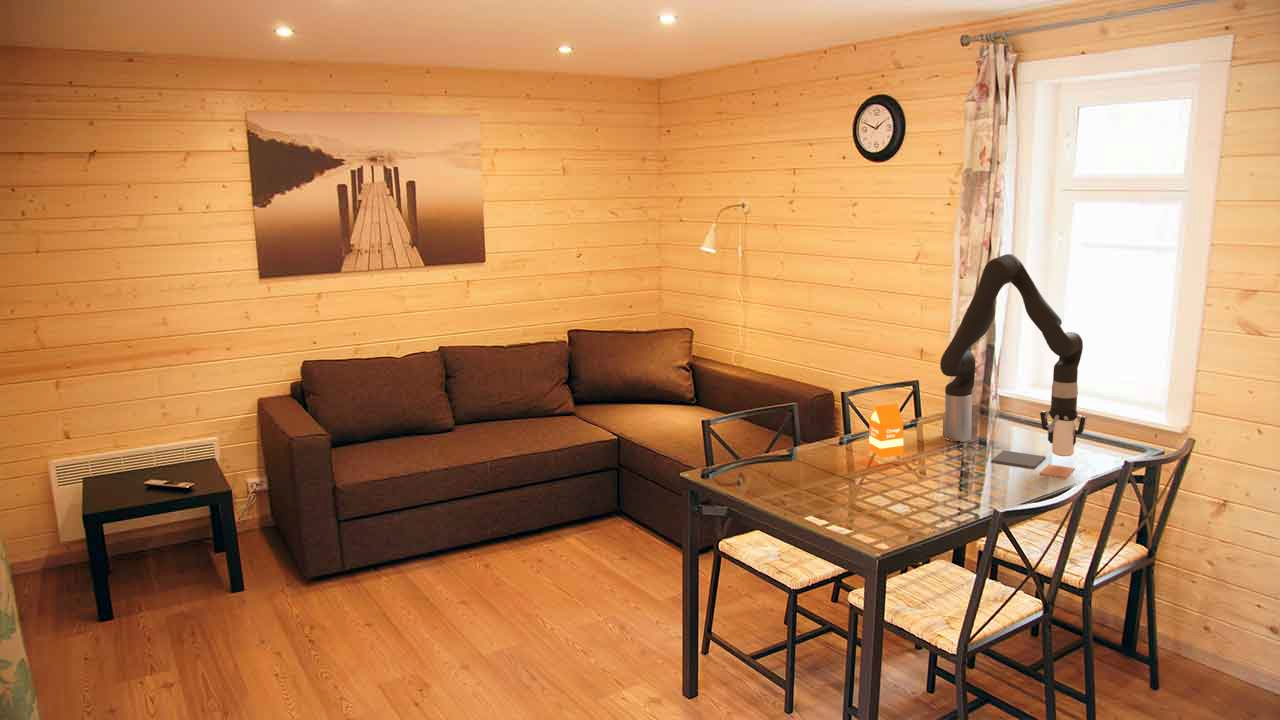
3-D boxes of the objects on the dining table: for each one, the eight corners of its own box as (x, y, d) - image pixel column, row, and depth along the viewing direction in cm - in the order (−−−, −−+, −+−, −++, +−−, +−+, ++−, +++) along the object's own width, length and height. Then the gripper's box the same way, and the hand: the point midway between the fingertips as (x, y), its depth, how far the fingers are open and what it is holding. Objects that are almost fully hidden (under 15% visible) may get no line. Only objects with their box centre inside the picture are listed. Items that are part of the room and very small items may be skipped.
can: (1068, 449, 298) (1071, 415, 295) (1077, 456, 292) (1079, 420, 289) (1048, 450, 298) (1051, 415, 296) (1056, 456, 292) (1059, 421, 289)
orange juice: (903, 462, 311) (903, 406, 307) (880, 465, 309) (880, 409, 305) (891, 455, 319) (891, 400, 314) (869, 458, 317) (868, 403, 312)
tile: (1048, 467, 299) (1039, 476, 291) (1048, 464, 298) (1039, 472, 291) (1074, 471, 294) (1066, 480, 286) (1074, 468, 293) (1066, 477, 286)
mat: (991, 462, 306) (991, 459, 306) (1003, 452, 315) (1003, 450, 314) (1034, 468, 297) (1034, 466, 297) (1045, 458, 306) (1045, 456, 306)
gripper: (1037, 394, 292) (1035, 443, 296) (1085, 399, 283) (1082, 451, 287) (1044, 388, 298) (1042, 437, 302) (1091, 394, 289) (1088, 444, 293)
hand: (1061, 443), depth 294 cm, fingers closed on can, 5 cm apart
